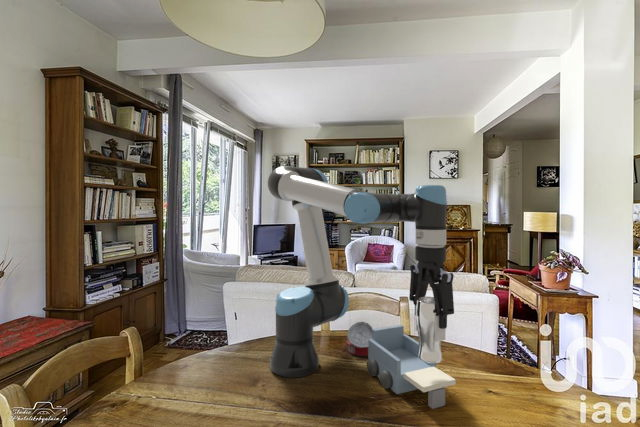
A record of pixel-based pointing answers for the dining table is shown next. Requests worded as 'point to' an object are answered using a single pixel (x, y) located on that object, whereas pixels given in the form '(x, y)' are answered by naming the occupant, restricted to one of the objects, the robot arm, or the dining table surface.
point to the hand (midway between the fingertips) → (429, 334)
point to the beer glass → (427, 330)
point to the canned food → (359, 338)
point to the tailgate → (429, 379)
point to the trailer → (398, 362)
